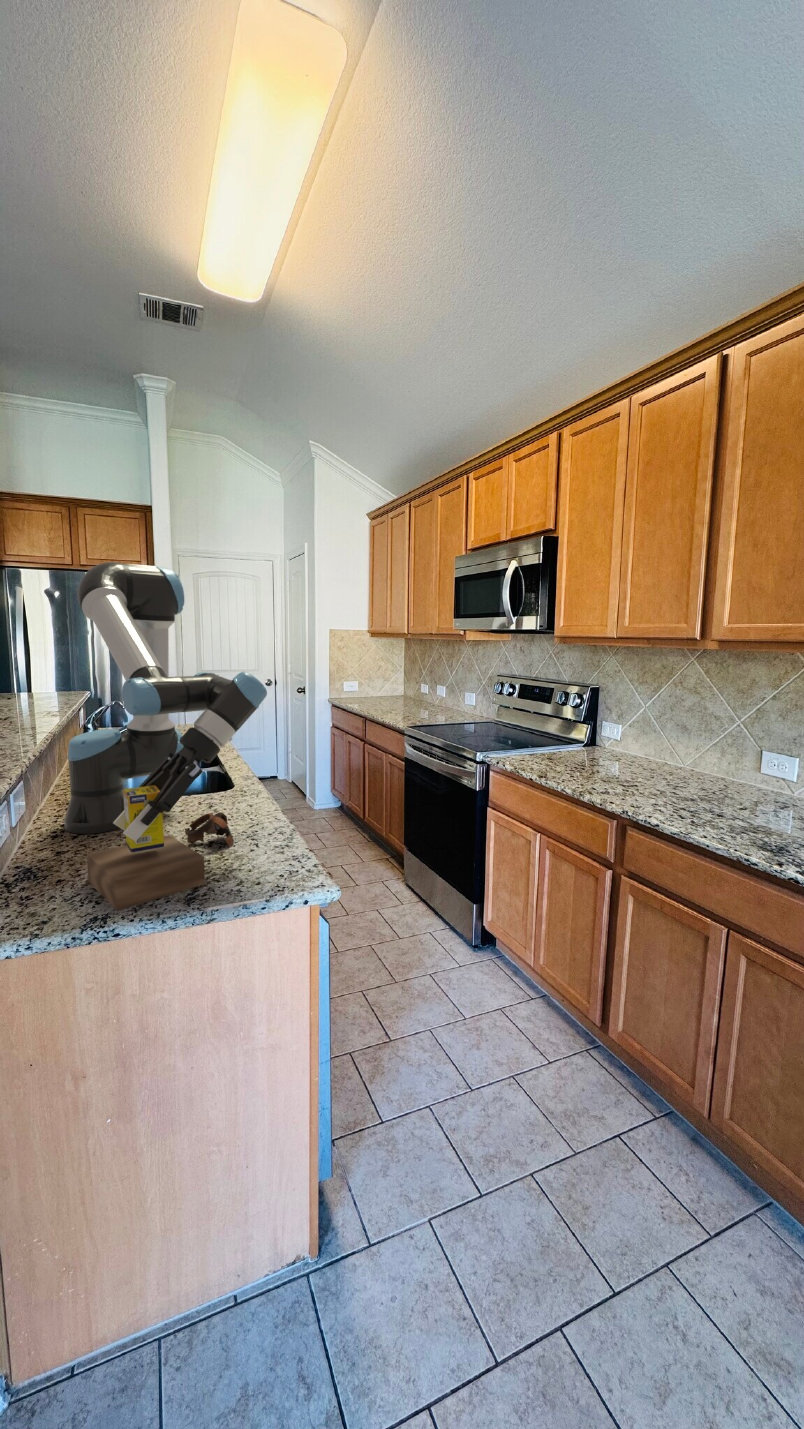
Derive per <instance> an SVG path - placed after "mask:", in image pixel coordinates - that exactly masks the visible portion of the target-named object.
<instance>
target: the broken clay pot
mask: <svg viewBox="0 0 804 1429" xmlns="http://www.w3.org/2000/svg"><path fill="white" fill-rule="evenodd" d="M190 828H191V829H190ZM184 833H185V835H186V836H187V838H186V840H187V841H186V842H187V843H188V844H191V845H194V844H195V843H196V842H198V841H200V842H202V843H204V842H205V841H204V836H205V834H207V835H208V834H209V835H211V834H213V835H216V836H224V835H225V837H226V838H225V839H224V841H225V843H226V845H227V847H228V848H231V846H233V844H234V840H235V839H234V838H233V835H232V833H231V831H230V827H229V826H228V818H227V815H226V814H225V813H224V812H221V811H219V812H217V813H215V814H213V812H209V813H205V814H203V815H201V816H200V817H198V818H197V819H195V820H193V821H192V822H191V823H190V824H189V827H187V828H186V829H185V831H184Z"/></svg>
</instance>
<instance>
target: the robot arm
mask: <svg viewBox="0 0 804 1429" xmlns="http://www.w3.org/2000/svg"><path fill="white" fill-rule="evenodd" d="M177 574H178V573H176V572H175V571H174V570H172V569H171V568H167V567H161V566H158V565H145V564H135V563H122V562H115V561H114V562H113V561H105V562H102V563H99V564H97V565H94V566H93V567H91V568H89V570H87V571H86V572H85V574H83V576H82V577H81V579H80V580H79V584H78V588H77V591H76V592H77V601H78V604H79V607H80V609H81V611H82V613H83V615H84V616H85V617H86V618H87V619H88V620H90V621H93V623H94V625H95V626H96V628H97V630H98V632H99V633H100V636H101V637H102V640H103V641H104V643H105V645H106V647H107V649H108V650H109V652H110V654H111V656H112V659H113V660H114V662H115V663H116V665H117V667H118V669H119V670H120V672H121V674H122V676H123V677H124V680H125V681H124V683H123V685H122V688H121V689H122V690H121V699H122V701H123V707H124V709H125V711H126V712H127V713H128V714H129V715H131V716H132V719H131V720H129V722H127V724H126V733H121V731H120V730H119V729H116V728H108V729H107V728H106V729H98V730H91V731H87V732H84V733H80V734H77V735H75V736H73V737H72V738H71V739H70V740H69V741H68V746H67V748H68V749H67V757H66V758H67V760H68V769H69V770H68V773H69V790H70V799H69V803H68V806H67V809H66V812H65V815H64V820H63V823H64V830H65V831H66V832H69V833H72V834H82V835H83V834H86V835H88V834H98V833H99V834H101V833H107V832H111V831H115V830H119V829H121V830H123V832H122V833H123V835H125V837H126V836H128V837H129V838H131V839H132V840H134V841H135V842H136V841H137V840H138V839H139V837H140V836H141V835H142V834H143V833H144V832H145V830H146V829H147V828H148V827H149V826H150V825H151V823H152V822H153V821H154V820H155V819H156V818H157V816H158V815H159V814H160V812H161V813H164V812H166V813H169V812H170V811H171V810H172V809H173V808H174V807H175V805H176V804H177V803H178V801H179V800H180V799H181V798H182V796H183V795H184V794H185V793H186V792H187V790H188V789H189V788H190V786H191V785H192V784H193V782H194V781H195V780H196V779H198V777H200V776H201V775H202V774H203V769H201V768H200V765H201V763H202V762H204V763H207V764H210V763H212V761H213V760H214V759H215V758H216V757H217V756H218V754H219V753H221V748H223V747H225V746H226V745H227V743H229V742H231V741H232V740H233V737H234V735H235V734H236V733H237V732H238V731H239V730H240V728H242V726H243V725H244V724H245V723H246V722H247V721H248V719H250V717H251V716H252V715H253V714H254V713H255V711H257V710H258V709H259V708H260V705H261V704H262V702H263V701H264V700H265V699H266V698H267V695H268V691H267V688H266V687H265V685H264V684H263V683H262V682H261V681H260V680H259V679H258V678H256V677H255V676H254V675H252V674H251V673H249V672H247V671H240V672H239V673H237V674H236V675H235V676H234V677H232V679H228V678H226V677H223V676H220V675H218V674H216V673H214V672H208V671H207V672H198V673H196V674H195V675H186V676H169V675H170V674H169V673H170V672H169V668H170V667H169V666H170V665H169V663H170V662H169V659H170V658H169V650H170V649H169V628H170V627H171V626H172V625H173V624H174V623H175V622H176V619H175V618H176V615H180V613H182V612H183V610H184V608H183V607H184V605H185V591H184V587H183V583H182V582H181V579H180V578H179V576H178V575H177ZM201 711H203V712H202V713H201V714H200V715H199V716H198V718H197V719H196V720H195V721H194V722H193V726H194V727H189V728H188V729H187V730H186V731H185V733H184V734H182V732H181V731H180V730H179V729H177V728H176V725H175V723H174V722H173V721H172V720H171V719H170V716H169V715H170V714H176V713H190V712H201ZM146 776H147V777H146ZM141 777H142V778H143V777H146V778H145V780H144V781H142V783H140V785H139V786H138V787H145V786H154V785H155V786H156V787H157V788H158V789H159V790H160V792H159V793H158V795H157V796H156V798H155V799H154V801H148V805H147V806H146V807H145V808H144V809H143V810H142V812H141V813H140V814H139V815H138V816H137V817H136V818H135V820H134V821H133V822H132V823H131V824H130V825H129V826H128V828H127V829H126V830H125V812H124V797H123V790H124V780H129V779H134V778H135V779H137V778H141ZM149 804H150V805H151V806H150V805H149Z"/></svg>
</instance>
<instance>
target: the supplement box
mask: <svg viewBox="0 0 804 1429" xmlns="http://www.w3.org/2000/svg"><path fill="white" fill-rule="evenodd" d="M159 792H160V790H159V789H158V788H157V787H156V786H155V785H154V786H145V787H139V786H138V787H131V788H130V787H129V788H123V797H124V812H125V830H126V829H127V828H128V826H129V825H130V824H131V823H132V822H133V821H134V820H135V818H136V817H137V816H138V815H139V814H140V813H141V812H142V810H143V809H144V808H145V807H146V806H147V805H148V801H154V799H155V798H156V796H157V795H158V793H159ZM149 805H150V804H149ZM150 806H151V805H150ZM163 813H164V812H163ZM163 813H161V812H160V814H159V815H158V816H157V818H156V819H155V820H154V821H153V822H152V823H151V825H150V826H149V827H148V828H147V829H146V830H145V832H144V833H143V834H142V835H141V836H140V837H139V839H138V840H137V841H136V842H135V841H134V840H132V839H131V838H129V837H128V836H126V835H125V844H126V845H127V846H128V848H129V850H130V851H131V852H138V851H143V850H149V849H155V848H160V847H164V836H165V834H164V818H163Z"/></svg>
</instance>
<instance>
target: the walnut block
mask: <svg viewBox="0 0 804 1429" xmlns="http://www.w3.org/2000/svg"><path fill="white" fill-rule="evenodd" d="M86 860H87V861H86V862H87V865H86V866H87V877H88V878H87V880H88V883H89V884H90V885H91V887H92V888H94V889H95V890H96V891H97V892H98V894H100V895H101V896H102V897H103V898H104V899H105V900H106V901H107V902H108V903H109V904H110V905H111V906H112V908H114V910H116V911H121V910H125V909H128V908H131V907H135V906H138V905H141V904H145V903H148V902H151V901H154V900H158V899H161V898H164V897H167V896H171V895H174V894H177V893H180V892H181V893H182V892H185V891H187V890H191V889H194V888H197V887H200V886H204V885H205V883H206V882H205V856H204V855H202V854H201V853H199V852H197V851H195V849H192V848H191V847H189V846H188V845H186V844H184V843H183V842H181V841H180V840H178V839H177V838H175V837H173V836H172V835H170V834H168V835H164V847H160V848H155V849H149V850H143V851H138V852H131V851H130V850H129V848H128V846H127V844H126V845H122V846H117V847H113V848H108V849H102V850H99V851H95V852H91V853H86Z"/></svg>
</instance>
